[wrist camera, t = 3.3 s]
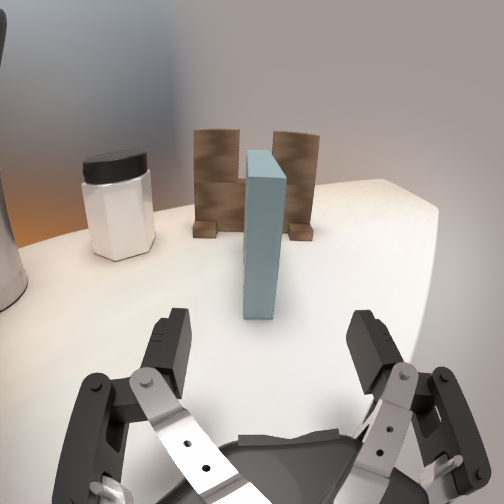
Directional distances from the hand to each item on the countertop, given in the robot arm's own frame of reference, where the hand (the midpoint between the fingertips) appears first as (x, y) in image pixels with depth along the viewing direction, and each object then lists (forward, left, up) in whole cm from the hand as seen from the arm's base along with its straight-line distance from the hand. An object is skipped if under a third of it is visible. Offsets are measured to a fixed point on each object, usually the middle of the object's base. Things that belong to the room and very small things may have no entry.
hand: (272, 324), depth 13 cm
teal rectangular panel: (0, +15, -7) cm, 17 cm away
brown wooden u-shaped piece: (0, +27, -7) cm, 28 cm away
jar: (-17, +21, -7) cm, 28 cm away
